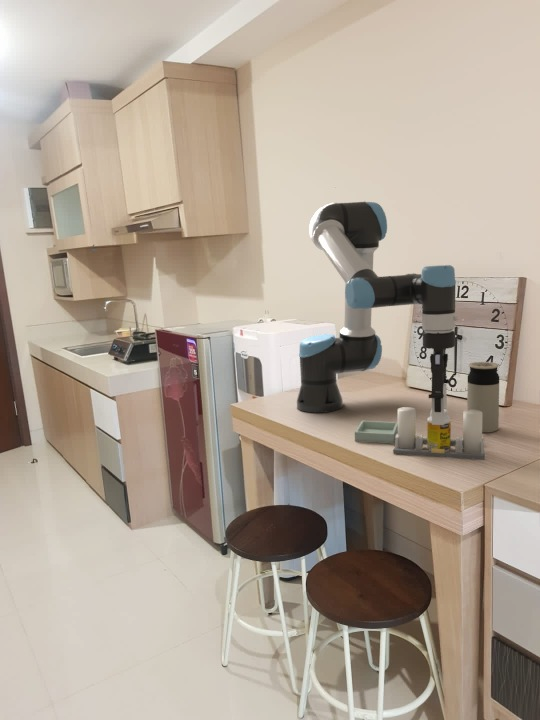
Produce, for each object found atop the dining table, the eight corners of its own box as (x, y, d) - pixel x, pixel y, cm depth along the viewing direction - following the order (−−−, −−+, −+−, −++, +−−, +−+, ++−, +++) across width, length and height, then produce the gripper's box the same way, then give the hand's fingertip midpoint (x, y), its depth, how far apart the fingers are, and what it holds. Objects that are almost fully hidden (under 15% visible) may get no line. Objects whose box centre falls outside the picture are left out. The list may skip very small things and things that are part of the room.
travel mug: (479, 435, 144) (480, 368, 141) (461, 426, 152) (461, 363, 149) (504, 430, 147) (506, 365, 143) (485, 422, 154) (486, 360, 151)
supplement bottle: (440, 455, 132) (440, 414, 130) (422, 449, 137) (422, 410, 135) (455, 449, 135) (455, 410, 133) (437, 444, 140) (437, 405, 138)
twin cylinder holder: (393, 453, 135) (392, 415, 133) (398, 440, 144) (397, 403, 142) (484, 460, 127) (485, 419, 126) (483, 445, 137) (484, 406, 135)
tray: (354, 441, 146) (354, 432, 145) (362, 429, 155) (361, 420, 154) (393, 443, 142) (393, 434, 142) (398, 431, 151) (398, 422, 151)
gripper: (453, 338, 117) (454, 432, 121) (456, 324, 140) (456, 403, 144) (417, 338, 120) (419, 431, 124) (426, 324, 143) (427, 402, 147)
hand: (439, 416), depth 134 cm, fingers open, 13 cm apart
